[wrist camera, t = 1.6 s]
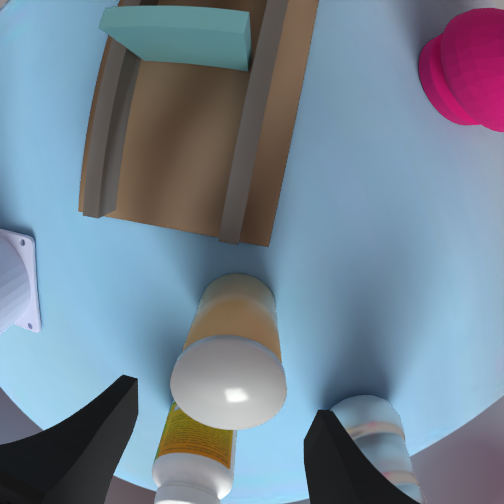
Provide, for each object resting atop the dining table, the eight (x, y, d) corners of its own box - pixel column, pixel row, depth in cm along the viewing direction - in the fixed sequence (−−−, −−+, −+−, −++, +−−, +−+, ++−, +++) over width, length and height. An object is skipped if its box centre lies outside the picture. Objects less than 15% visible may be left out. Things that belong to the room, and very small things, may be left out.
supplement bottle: (162, 390, 23) (127, 490, 14) (230, 385, 22) (217, 495, 13) (182, 434, 24) (160, 526, 15) (243, 431, 24) (238, 530, 15)
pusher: (144, 60, 15) (98, 28, 10) (148, 45, 15) (105, 7, 9) (248, 71, 16) (243, 33, 10) (252, 55, 15) (249, 12, 10)
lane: (82, 209, 19) (43, 225, 14) (136, -33, 14) (112, -64, 9) (268, 244, 19) (271, 271, 15) (320, -17, 14) (335, -53, 10)
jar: (194, 333, 21) (167, 418, 14) (204, 264, 20) (173, 334, 12) (268, 346, 21) (271, 435, 14) (285, 279, 20) (300, 356, 12)
